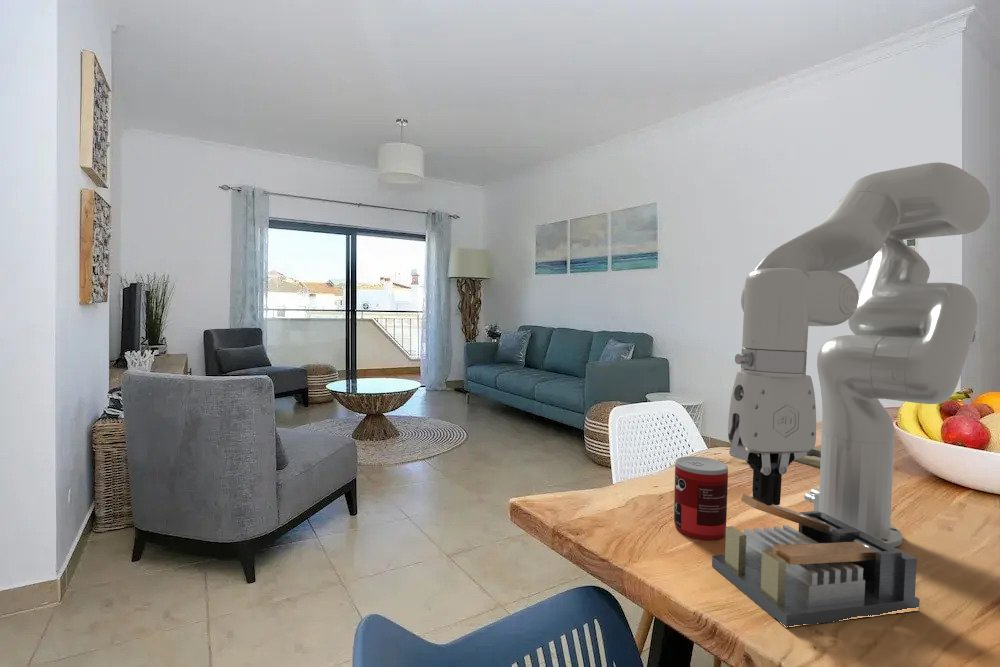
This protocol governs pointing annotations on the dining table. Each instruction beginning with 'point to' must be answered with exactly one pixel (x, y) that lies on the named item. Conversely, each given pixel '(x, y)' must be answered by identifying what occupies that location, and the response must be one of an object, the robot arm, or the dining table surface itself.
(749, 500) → the strap
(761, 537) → the heatsink block
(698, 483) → the canned food
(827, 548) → the near strap
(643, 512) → the dining table surface
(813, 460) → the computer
